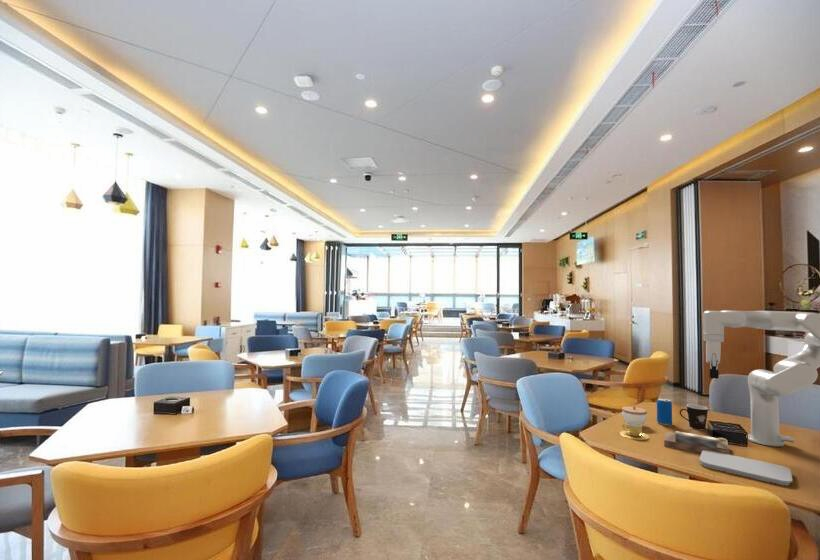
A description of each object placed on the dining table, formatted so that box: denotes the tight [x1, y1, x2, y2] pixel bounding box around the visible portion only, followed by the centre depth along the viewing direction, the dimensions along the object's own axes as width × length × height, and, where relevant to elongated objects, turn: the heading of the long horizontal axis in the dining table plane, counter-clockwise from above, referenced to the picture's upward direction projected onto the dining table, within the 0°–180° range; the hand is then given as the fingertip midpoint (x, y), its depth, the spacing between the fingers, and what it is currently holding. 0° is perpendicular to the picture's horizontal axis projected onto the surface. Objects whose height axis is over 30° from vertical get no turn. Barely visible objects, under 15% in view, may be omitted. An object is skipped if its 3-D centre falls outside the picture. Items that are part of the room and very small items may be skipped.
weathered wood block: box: [663, 431, 731, 455], centre depth 172 cm, size 22×13×6 cm, turn 54°
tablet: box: [698, 450, 793, 486], centre depth 150 cm, size 16×26×2 cm, turn 49°
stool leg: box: [675, 430, 729, 449], centre depth 168 cm, size 18×3×4 cm, turn 55°
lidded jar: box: [621, 405, 648, 425], centre depth 200 cm, size 11×11×9 cm
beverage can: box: [656, 397, 673, 426], centre depth 203 cm, size 6×6×12 cm
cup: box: [619, 422, 650, 441], centre depth 185 cm, size 12×12×5 cm
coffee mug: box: [679, 403, 709, 430], centre depth 198 cm, size 12×9×10 cm
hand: (714, 377), depth 184 cm, fingers closed
